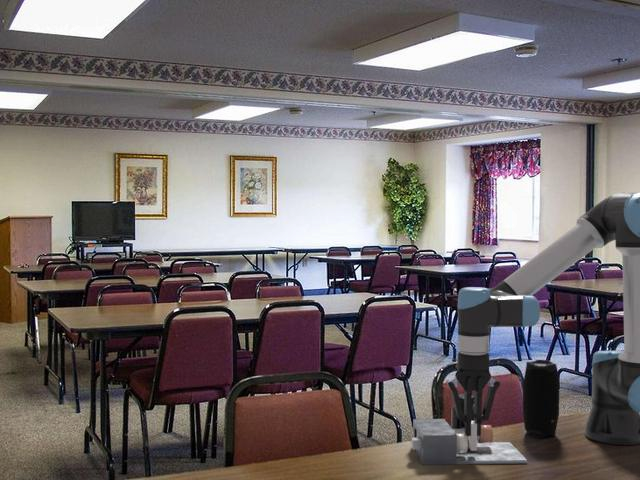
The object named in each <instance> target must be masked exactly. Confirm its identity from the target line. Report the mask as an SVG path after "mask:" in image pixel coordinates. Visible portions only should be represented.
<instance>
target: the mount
mask: <svg viewBox="0 0 640 480" xmlns="http://www.w3.org/2000/svg"><path fill="white" fill-rule="evenodd" d="M412 427H413V428H412V438H421V439H422V449H414V451H415V453H416V455H417V456H418V459H419V460H420V462H421V465H424V466H426V465H429V466H430V465H432V466H433V465H434V466H435V465H501V464H502V465H504V464H505V465H506V464H507V465H508V464H509V465H510V464H511V465H513V464H528V459H527V458H526V457H525V456H524V455H523V454H522V453H521V452H520V451H519V450H518V448H516V446H514V445H513V444H512V443H511V442H509V441H508V442H507V441H504V442H501V441H499V442H498V441H496V442H495V441H494V442H493V441H492V443H478V442H477V451H471V450H470V448H469V443H468V450H467V452H457V435H456V433H455V432H454V431H453V430H452V428H451V425H450V424H449V423H448V422H447V421H446V419H445V418H414V419H412Z"/></svg>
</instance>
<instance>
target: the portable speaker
mask: <svg viewBox="0 0 640 480" xmlns="http://www.w3.org/2000/svg"><path fill="white" fill-rule="evenodd" d="M525 366H526V367H525V372H524V376H523V381H522V415H523V424H524V430H525V431H526V432H527V434H528V435H529V437H530V438H536V439H544V438H545V437H546V436H550V435H551V436H552V437H555V436H556V432H557V427H558V423H559V422H558V421H559V418H560V417H559V416H560V378H559V372H558V367H557V363H554V362H552V361H551V360H548V359H547V360H546V359H535V360H533V361H526V364H525Z"/></svg>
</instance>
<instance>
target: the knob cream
mask: <svg viewBox="0 0 640 480" xmlns="http://www.w3.org/2000/svg"><path fill="white" fill-rule="evenodd" d="M456 435H457V452H467V450H468V440H467V436H466V434H456ZM410 447H411V449H412V450H415V449H422V439H421V438H413V437H411V444H410Z"/></svg>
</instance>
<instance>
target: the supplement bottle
mask: <svg viewBox="0 0 640 480" xmlns="http://www.w3.org/2000/svg"><path fill="white" fill-rule="evenodd" d="M458 395H459V399H460V403H461V407H462V411H463V415H464V393H460V394H459V393H458ZM450 416H451V417H450V418H451V419H450V427H451V428H452V429H465V422H464V421H460V420H459V419H458V417H457V414H456V410H455V406H454V405H453V406H452V407H451V413H450ZM471 421H475V419H474V395H472V414H471ZM468 443H469V440H468Z"/></svg>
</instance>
